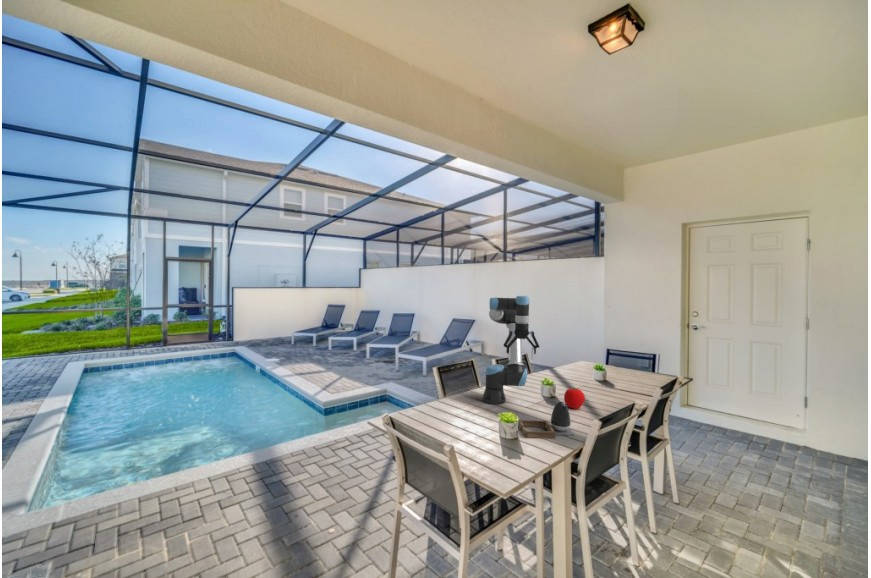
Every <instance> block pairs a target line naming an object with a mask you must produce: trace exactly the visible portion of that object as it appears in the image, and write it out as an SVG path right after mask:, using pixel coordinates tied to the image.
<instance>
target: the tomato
mask: <svg viewBox="0 0 871 578" xmlns="http://www.w3.org/2000/svg"><path fill="white" fill-rule="evenodd" d="M585 396H586V395H585V394H584V392H583V391H582V390H581V389H579V388H575V387H571V388H568V389H566V390H565V392H564V395H563V402H564V403H565V404H566V406H567V407H569V409H570V408H571V409H574V410H575V409H577V410H578V409H580V408H581V407H582V406H583V405H584V403H585V401H586V397H585Z"/></svg>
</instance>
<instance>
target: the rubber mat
mask: <svg viewBox="0 0 871 578" xmlns="http://www.w3.org/2000/svg"><path fill="white" fill-rule="evenodd" d="M549 425H550V426H551V427H552V429H553V430H554V431H555V436H575V433H574V432H573V431H572V429H570V428H569V429H568V430H566V431H557V430H556V429H554V428H553V426H552V424H549Z"/></svg>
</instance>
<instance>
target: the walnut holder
mask: <svg viewBox="0 0 871 578" xmlns="http://www.w3.org/2000/svg"><path fill="white" fill-rule="evenodd" d="M550 425H551V424H550V423H549V421H547V420H529V419H528V420H523V419H519V420H518V427H519V430H520V431H521V433H522V434H523V436H524V438H525V439H526V438H527V439H556V435H555V431H554V430H553V429H552V427H551V426H550ZM527 427H528V428H529V427H534V428H535V427H536V428H538V427H540V428H541V427H543V428H545V429H546V430H545V431H544V430H543V431H542V430H541V431H538V430H528V429H527Z"/></svg>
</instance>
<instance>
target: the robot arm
mask: <svg viewBox="0 0 871 578" xmlns="http://www.w3.org/2000/svg"><path fill="white" fill-rule="evenodd" d="M488 315H489V319H490V320H492V321H493V322H495V323H498V324H502V325H504V324H505V327H506V329H508V335H507V338H506V339H505V341H504V343H503V347H504V348H506V352H505V353H506V354H507V359H508V363H507V364H506V367H505V366H504V365H503V364H498V363H497V364H489V365H488V366H487V367H486V368H485V389H484V392H483V394H482V401H483V402H484V403H487V404H490V405H491V404H492V405H502V404H505V403H506V402H507V401H506V398H507V397H506V393H505V391H504V387H505V386H506V387H524V386H525V385H526V382H527V378H528V368H526V366H525V364H524V363H523V345H522V340H525V339H526V340H527V342H528V343H529V344H530V345H531V359H530V360H532V361H534V360H535V355H537V353H536V352H537V348H540V344H539V342H538V340H537V338H536V336H535V331H533V330H531V331H529V327H530V325H529V322H530V321H529V320H530V319H529V317H530V316H529V315H530V297H529V296H528V295H517V296H515V297H489V312H488ZM529 335H530V336H531V337H532V340H533V342H532V340H531V339H530V338H529Z"/></svg>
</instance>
